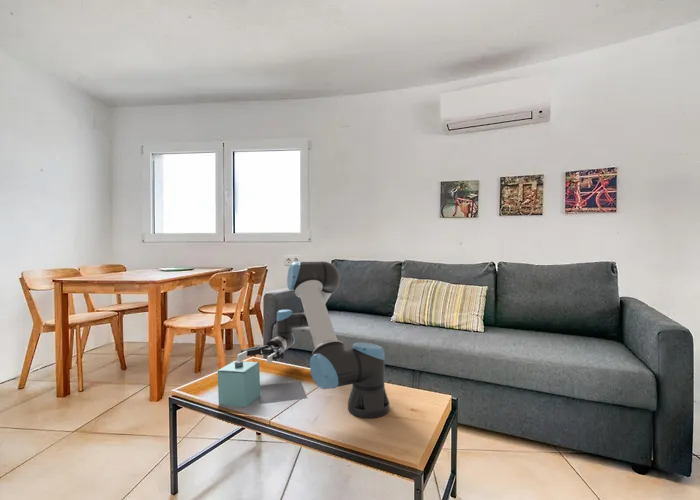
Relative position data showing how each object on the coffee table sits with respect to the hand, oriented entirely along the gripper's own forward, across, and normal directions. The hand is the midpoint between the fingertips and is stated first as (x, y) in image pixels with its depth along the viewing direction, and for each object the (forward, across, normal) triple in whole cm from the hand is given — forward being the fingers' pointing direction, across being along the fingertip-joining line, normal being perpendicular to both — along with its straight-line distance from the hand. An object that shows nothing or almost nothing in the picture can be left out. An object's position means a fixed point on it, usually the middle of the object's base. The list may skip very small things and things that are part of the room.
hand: (252, 359), depth 140 cm
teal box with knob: (+10, 0, -13) cm, 16 cm away
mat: (-1, -12, -13) cm, 18 cm away
